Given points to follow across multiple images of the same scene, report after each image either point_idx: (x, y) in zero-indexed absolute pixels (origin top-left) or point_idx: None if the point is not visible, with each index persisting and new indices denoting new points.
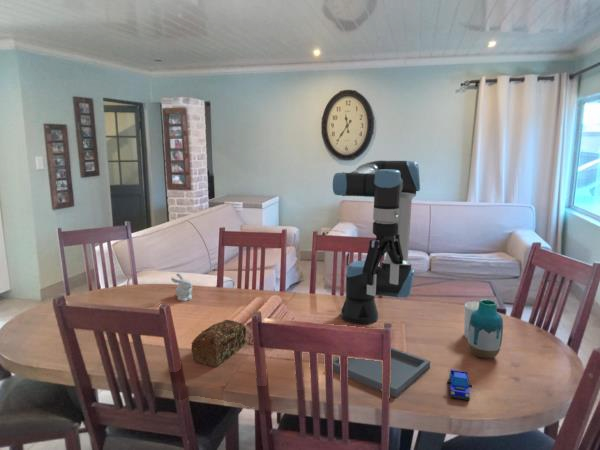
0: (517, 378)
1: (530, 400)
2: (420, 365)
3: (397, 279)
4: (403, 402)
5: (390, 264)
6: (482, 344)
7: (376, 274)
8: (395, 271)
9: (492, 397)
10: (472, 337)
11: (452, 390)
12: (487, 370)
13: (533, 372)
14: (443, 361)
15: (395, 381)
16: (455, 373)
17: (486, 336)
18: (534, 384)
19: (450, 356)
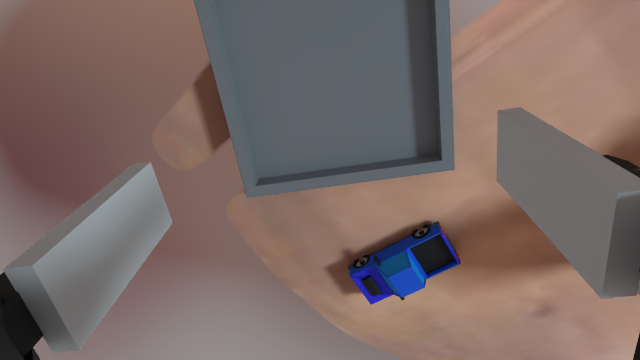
0: (548, 312)
1: (468, 354)
2: (405, 167)
3: (520, 201)
4: (250, 208)
5: (607, 190)
6: None
7: (78, 349)
8: (555, 219)
9: (424, 310)
10: None
11: (352, 278)
12: (543, 258)
13: (604, 323)
14: None
15: (301, 149)
16: (405, 271)
17: (638, 289)
18: (543, 340)
19: None
